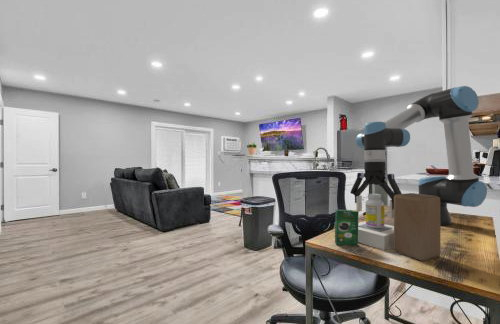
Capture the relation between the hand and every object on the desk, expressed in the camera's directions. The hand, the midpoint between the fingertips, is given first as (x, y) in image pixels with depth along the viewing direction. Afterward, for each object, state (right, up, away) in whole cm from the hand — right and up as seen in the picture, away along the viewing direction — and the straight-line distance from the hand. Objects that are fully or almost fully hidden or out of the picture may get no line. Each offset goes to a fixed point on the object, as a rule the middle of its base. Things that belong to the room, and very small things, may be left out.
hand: (374, 214), depth 97 cm
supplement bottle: (0, -5, 0) cm, 5 cm away
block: (+6, -11, -15) cm, 19 cm away
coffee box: (-13, -11, -5) cm, 18 cm away
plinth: (0, -10, 0) cm, 10 cm away
